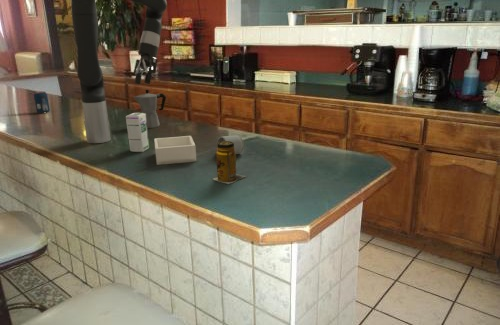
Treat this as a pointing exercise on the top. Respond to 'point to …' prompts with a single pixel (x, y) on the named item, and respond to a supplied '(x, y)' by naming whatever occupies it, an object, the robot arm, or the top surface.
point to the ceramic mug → (236, 140)
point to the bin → (175, 150)
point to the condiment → (226, 163)
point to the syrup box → (137, 132)
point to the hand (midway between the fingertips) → (142, 83)
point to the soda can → (41, 102)
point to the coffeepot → (150, 107)
